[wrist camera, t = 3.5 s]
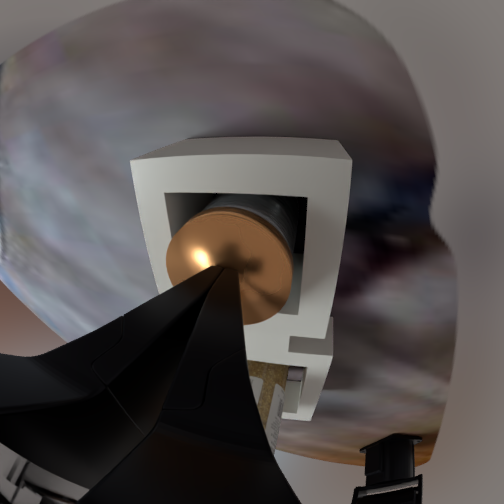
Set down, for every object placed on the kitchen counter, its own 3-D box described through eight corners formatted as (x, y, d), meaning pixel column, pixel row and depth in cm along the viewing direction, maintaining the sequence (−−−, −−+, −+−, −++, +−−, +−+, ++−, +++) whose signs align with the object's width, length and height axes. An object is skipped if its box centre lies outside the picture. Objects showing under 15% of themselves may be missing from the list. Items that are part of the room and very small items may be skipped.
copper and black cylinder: (299, 249, 13) (287, 331, 9) (222, 243, 14) (178, 315, 10) (303, 171, 11) (294, 222, 7) (215, 168, 12) (155, 214, 8)
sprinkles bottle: (241, 323, 17) (168, 525, 6) (304, 347, 17) (267, 546, 6) (224, 357, 20) (163, 517, 9) (277, 377, 20) (238, 536, 9)
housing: (313, 390, 20) (308, 437, 16) (211, 375, 22) (195, 418, 18) (358, 142, 10) (383, 163, 7) (169, 140, 12) (111, 162, 8)
